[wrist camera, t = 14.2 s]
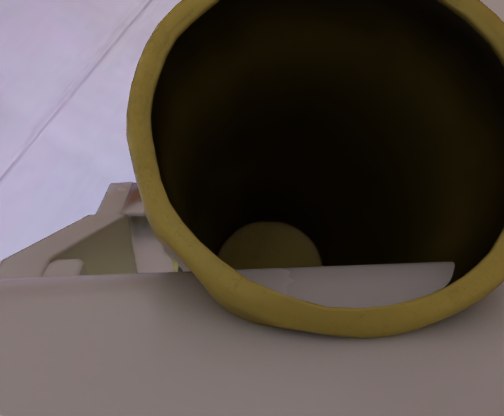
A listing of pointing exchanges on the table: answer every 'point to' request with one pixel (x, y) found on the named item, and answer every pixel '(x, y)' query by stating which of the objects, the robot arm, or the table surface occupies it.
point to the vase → (324, 149)
